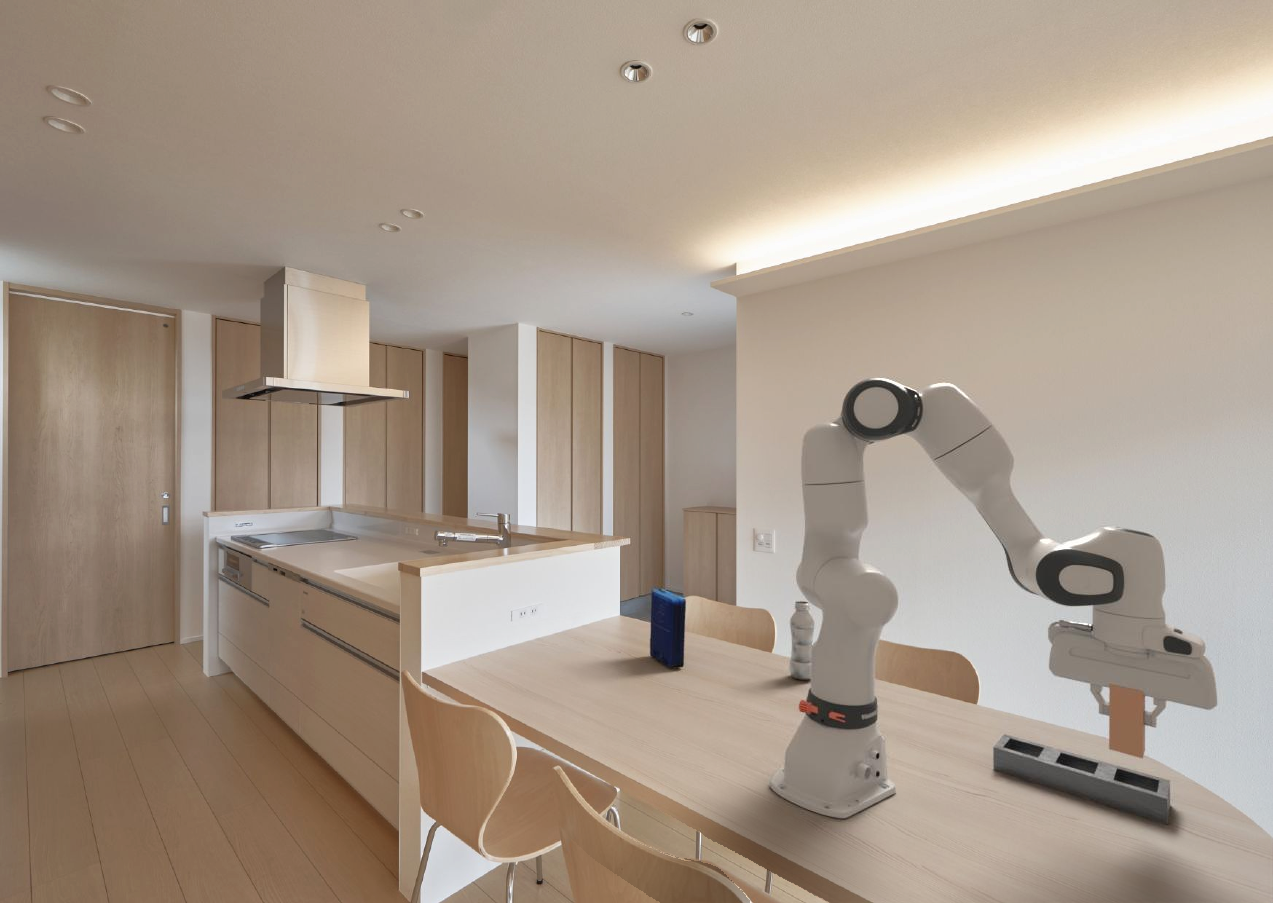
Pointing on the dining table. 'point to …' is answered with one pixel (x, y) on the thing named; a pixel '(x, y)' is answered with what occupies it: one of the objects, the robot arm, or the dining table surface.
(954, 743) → the dining table surface
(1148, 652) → the robot arm
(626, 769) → the dining table surface
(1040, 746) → the rail
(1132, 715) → the peg
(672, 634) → the blue upright rectangular block
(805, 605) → the plastic bottle
